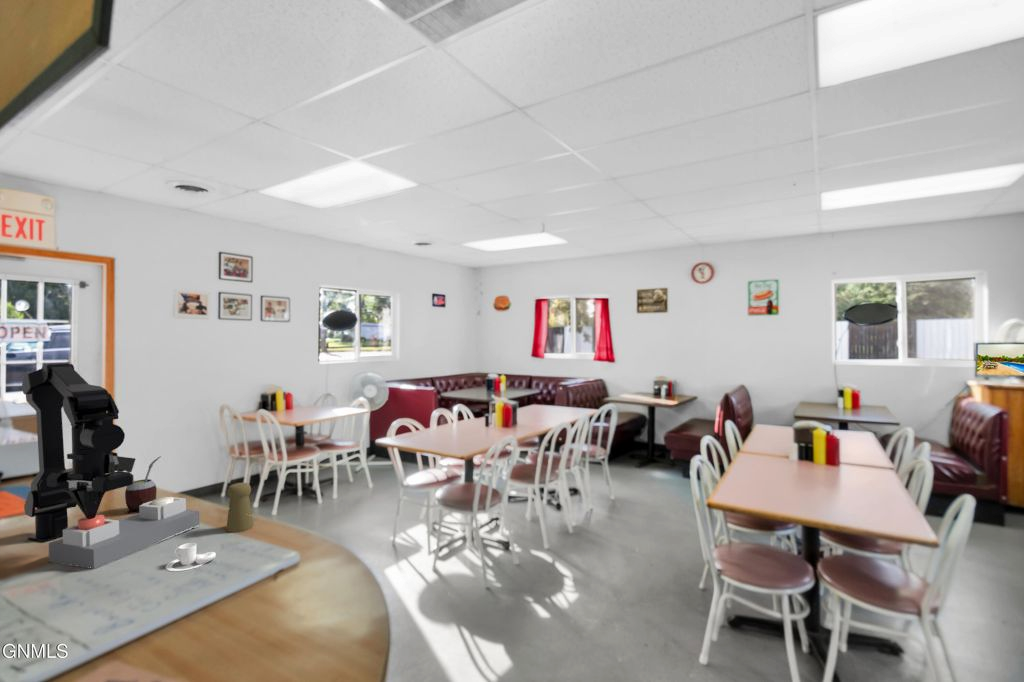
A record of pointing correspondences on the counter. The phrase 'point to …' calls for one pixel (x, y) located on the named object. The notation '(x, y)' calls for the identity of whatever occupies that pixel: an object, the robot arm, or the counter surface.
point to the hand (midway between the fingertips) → (91, 518)
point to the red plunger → (90, 522)
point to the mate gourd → (140, 492)
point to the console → (122, 535)
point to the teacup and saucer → (190, 557)
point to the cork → (239, 508)
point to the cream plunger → (162, 501)
